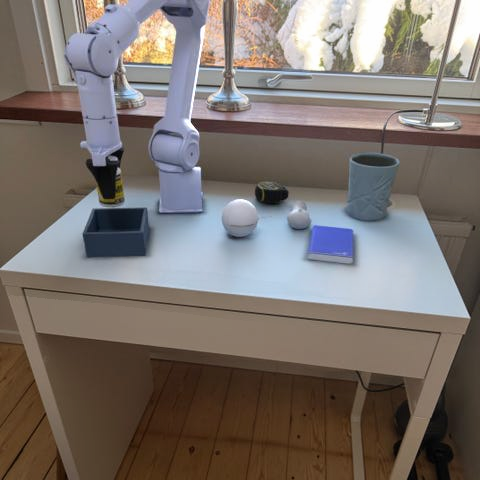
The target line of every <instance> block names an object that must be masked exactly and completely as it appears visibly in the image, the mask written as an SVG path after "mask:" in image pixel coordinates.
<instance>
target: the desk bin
mask: <svg viewBox="0 0 480 480" xmlns="http://www.w3.org/2000/svg"><path fill="white" fill-rule="evenodd" d="M149 234H150V221H149V212H148V207H147V206H146V207H145V206H144V207H103V208H102V207H101V208H98V207H97V208H92V209H91V211H90V214H89V216H88V219H87V222H86V224H85V227H84V229H83V231H82V239H83V240H82V241H83V244H84V248H85V250H84V251H85V254H86V255H85V256H86V258H105V257H106V258H109V257H110V258H111V257H140V256H141V257H143V256H144V257H145V256H146V255H147V249H148V241H149Z"/></svg>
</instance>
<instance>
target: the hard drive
mask: <svg viewBox="0 0 480 480" xmlns="http://www.w3.org/2000/svg"><path fill="white" fill-rule="evenodd" d="M308 246H309V247H308V250H307V251H308V252H307V259H308V260H312V261H321V262H329V263H339V264H348V265H350V264H353V262H354V261H353V260H354V229H352V228H346V227H336V226H328V225H327V226H326V225H317V224H314V225H312V230H311V234H310V241H309V245H308Z"/></svg>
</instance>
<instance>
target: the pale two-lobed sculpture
mask: <svg viewBox="0 0 480 480" xmlns="http://www.w3.org/2000/svg"><path fill="white" fill-rule="evenodd" d="M307 208H308V207H307V204H306V202H305V201H304V200H302V199H301V200H300V199H299V200H296V201H295V202H293V203H292V205H291V207H290V209H289V213H288V214H287V217H286V220H287V223H288V225H289V226H290V227H292V228H293V229H296V230H303V229H306V228H307V227H308V226H309V225H310V224H311V223H312V218H311V217H310V214H309V212H308V211H307Z"/></svg>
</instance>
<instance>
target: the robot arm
mask: <svg viewBox="0 0 480 480" xmlns="http://www.w3.org/2000/svg"><path fill="white" fill-rule="evenodd" d="M210 3H211V0H128V1H127V2H126V3H125V5H122V4H119V3H118V4H117V3H116V4H107V5H106V6H105V7H104V8H103V9H104V13H103V14H102V15H100V16H99V17H98V19H96V20H95V21H94V22H90V23H88V24H87V27H86V28H87V29H86V30H85V31H84V32H76V33H74V34H72V35H71V36H70V37H69V39H68V40H67V42H66V46H65V53H63V58H64V62H65V64H66V66H67V67H68V68H69V70H70V71H71V73H72V75H73V76H72V77H73V80H74V83H75V84H76V87H77V92H78V97H79V98H78V99H79V103H80V109H81V115H82V120H83V126H84V127H83V128H84V134H85V139H86V140H81V141H80V143H79V146H80V148H81V149H87V151H88V152H89V154H90V155H91V158H87V159H86V160H85V166H86V168H87V169H88V171H90V173H91V174H92V176H93V178H94V179H95V183H96V182H97V184H98V187H99V190H100V192H101V195H102V197H103V199H115V195H116V174H117V169H118V168H120V169H121V164H122V159H123V156H124V155H123V154H124V152H125V147H123V143H122V142H123V141H122V140H121V136H120V135H121V134H120V128H119V127H120V126H119V120H118V112H117V105H116V95H115V87H114V80H113V74H115V73H116V71H117V69H118V66H119V60H120V58H121V57H122V54H124V52H125V51H126V50H127V49H128V48H129V47H130V46H131V45H132V44H133V43H134V42H135V41H136V40H137V39H138V38H139V35H140V26H141V25H142V24H143V23H144V22H146V21H147V20H148V19H149V18H150V17H151V16H153V15H154V14H155V13H156V12H157V11H159V10H160V12H161V13H162V15H163V16H164V18H165V19H166V20H167V21H168V22H169V23H170V24H171V25H172V26H173V28H174V30H175V39H174V46H173V51H172V52H173V53H172V59H171V66H170V67H171V68H170V75H169V82H168V88H167V95H166V96H167V97H166V103H165V110H164V111H165V112H164V116H163V117H162V118H161V119H159V120H158V121H157V122H156V123H155V124H153V131H152V135H151V136H150V138H149V141H148V146H147V148H148V149H147V150H148V155H149V157H150V160H152V161H153V162H154V164H155V165H154V166H155V167H156V168H157V171H158V180H159V181H158V182H159V192H160V193H159V194H160V198H159V207H158V213H159V214H185V213H202V212H203V201H204V193H203V191H202V167H201V166H196V165H197V163H198V161H199V159H200V154H201V151H200V133H199V131H198V130H197V129H196V128H195V126H194V125H193V124H192V123H191V121H192V120H191V119H192V113H193V108H194V100H195V94H196V89H197V88H196V87H197V82H198V75H199V69H200V62H201V55H202V48H203V44H204V43H203V42H204V36H205V30H206V29H205V28H206V25H207V22H208V16H209V9H210ZM175 134H178V135H175ZM108 156H115V157H117V159H118V161H110V159H108ZM97 184H96V185H97Z"/></svg>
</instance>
